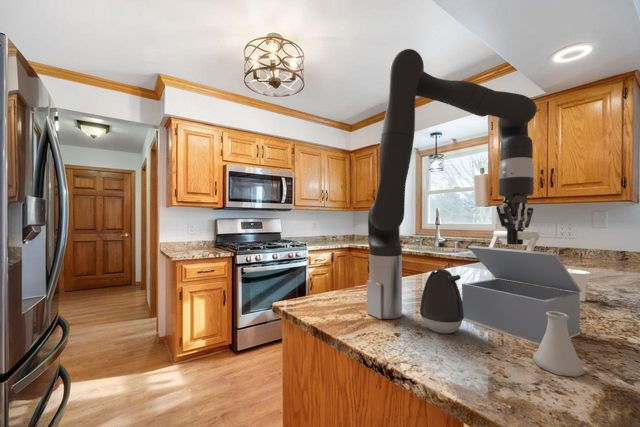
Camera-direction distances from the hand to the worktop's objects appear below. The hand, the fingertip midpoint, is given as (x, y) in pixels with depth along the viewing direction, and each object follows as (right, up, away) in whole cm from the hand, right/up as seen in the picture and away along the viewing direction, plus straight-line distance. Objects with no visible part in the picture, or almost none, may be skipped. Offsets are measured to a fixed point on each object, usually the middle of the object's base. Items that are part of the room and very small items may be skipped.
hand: (515, 244), depth 76 cm
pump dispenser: (-20, -21, -3) cm, 29 cm away
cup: (+38, -22, +26) cm, 51 cm away
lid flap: (+2, -6, +1) cm, 7 cm away
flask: (-6, -21, -21) cm, 30 cm away
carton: (+1, -21, 0) cm, 21 cm away
